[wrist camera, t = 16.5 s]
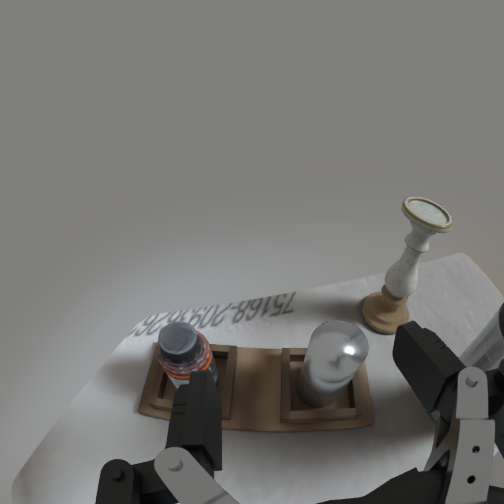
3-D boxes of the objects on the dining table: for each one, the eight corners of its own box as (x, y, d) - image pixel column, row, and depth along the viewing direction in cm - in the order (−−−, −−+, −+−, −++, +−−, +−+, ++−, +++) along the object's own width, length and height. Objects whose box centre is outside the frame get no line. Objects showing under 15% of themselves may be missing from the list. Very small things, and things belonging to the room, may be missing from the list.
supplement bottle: (179, 360, 34) (156, 310, 27) (221, 364, 34) (210, 313, 27) (172, 399, 30) (142, 357, 23) (217, 403, 30) (202, 364, 23)
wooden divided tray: (360, 351, 36) (366, 340, 34) (370, 425, 27) (379, 418, 25) (160, 342, 38) (154, 331, 36) (140, 413, 28) (131, 406, 27)
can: (338, 366, 33) (362, 319, 26) (343, 405, 29) (373, 368, 22) (295, 367, 34) (307, 320, 27) (296, 408, 29) (312, 372, 22)
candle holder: (352, 316, 41) (389, 207, 28) (374, 288, 46) (408, 187, 33) (395, 344, 36) (453, 239, 24) (413, 310, 41) (460, 213, 28)
